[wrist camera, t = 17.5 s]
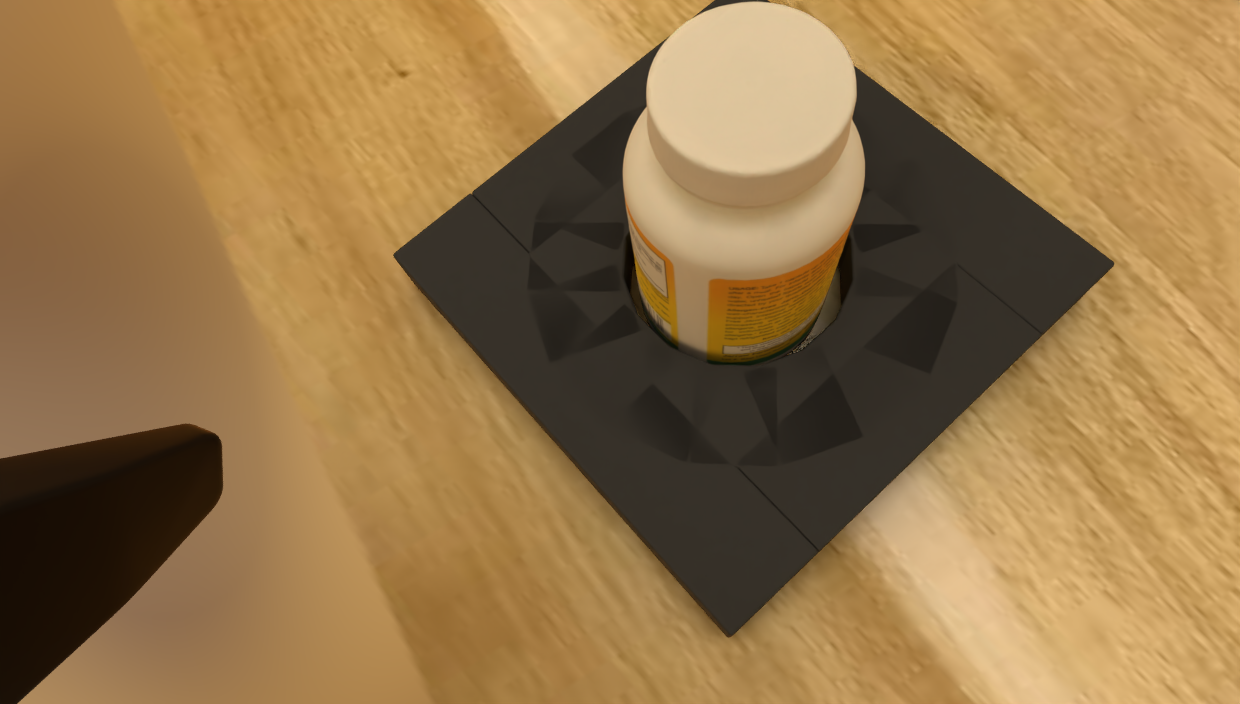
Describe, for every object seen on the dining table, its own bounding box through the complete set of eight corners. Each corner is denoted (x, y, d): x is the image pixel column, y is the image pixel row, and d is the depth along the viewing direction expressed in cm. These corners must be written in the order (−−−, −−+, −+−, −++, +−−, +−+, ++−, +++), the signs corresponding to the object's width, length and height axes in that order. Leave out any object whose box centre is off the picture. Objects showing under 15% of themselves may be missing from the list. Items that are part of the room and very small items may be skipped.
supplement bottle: (610, 330, 24) (556, 141, 16) (690, 188, 26) (682, -61, 17) (778, 407, 23) (824, 249, 14) (852, 253, 25) (937, 21, 16)
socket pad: (729, 638, 21) (731, 636, 19) (414, 283, 26) (391, 254, 24) (1084, 294, 23) (1116, 262, 22) (738, 23, 28) (740, -22, 26)
